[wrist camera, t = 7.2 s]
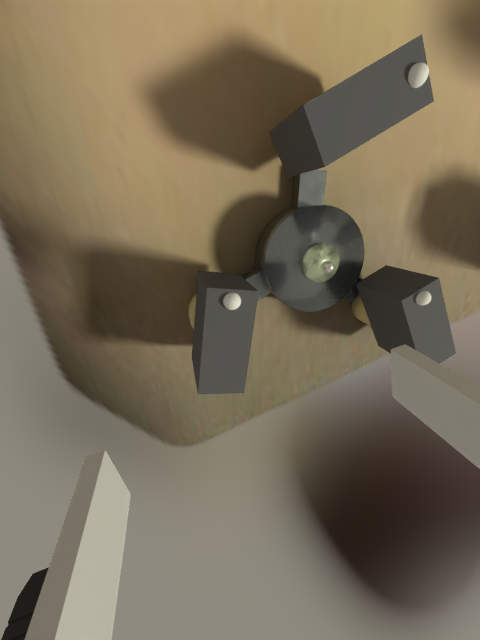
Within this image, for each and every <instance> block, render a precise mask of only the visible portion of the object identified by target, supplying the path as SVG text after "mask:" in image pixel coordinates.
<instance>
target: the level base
mask: <svg viewBox="0 0 480 640" xmlns="http://www.w3.org/2000/svg"><path fill="white" fill-rule="evenodd" d="M326 175H327V171H322V170H312V171H309V172H305V173H302V174H299V175H295V178H294V191H293V204H292V208H290V209H287V210H285V211H283V212H281V213H280V214H278V215H277V216H275V217H274V218H273V219H272V220H271V221H270V222H269V223H268V224H267V226H266V227H265V229H264V230H263V232H262V234H261V236H260V238H259V240H258V243H257V247H256V254H255V264H256V269H255V270H253V271H252V272H250V273H248V274H247V275H245V276H243V278H244V279H245V280H246V281H247V282H249V283H250V284H251V285H252V286H253V287H254V288H256V289H257V290H258V291H259V292H258V299H257V301H259V300H260V299H262V298H264V297H265V296H267V295H268V294H270V293H271V294H273V295H274V296H275V297H277V298H278V299H279V300H280V301H282V302H283V303H284V304H286V305H287V306H289V307H291V308H293V309H296V310H299V311H305V312H313V311H320V310H323V309H326V308H329V307H331V306H332V305H334V304H336V303H337V302H339V301H340V300H341V299H342V298H343V299H345V300H346V301H348V302H350V303H352V304H353V302H354V301H355V299H356V298H357V296H358V295H359V292H358V289H357V286H356V284H357V283H358V282H360V281H361V279H359V278H358V277H359V275H360V272H361V269H362V265H363V261H364V243H363V238H362V234H361V232H360V229H359V227H358V226H357V224H356V222H355V221H354V220H353V219H352V218H351V217H350V216H349V215H348V214H347V213H346V212H344V211H343V210H341V209H338V208H336V207H332V206H327V205H323V202H324V193H325V184H326Z"/></svg>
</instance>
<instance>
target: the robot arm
mask: <svg viewBox="0 0 480 640" xmlns="http://www.w3.org/2000/svg"><path fill="white" fill-rule="evenodd" d="M391 373H392V397H394V398H395V399H396V400H397V401H398V402H400V403H401V404H402V405H403V406H404V407H406V408H407V409H408V410H409V411H410V412H412V413H413V414H414V415H415V416H417V417H418V418H419V419H420V420H421V421H423V422H424V423H425V424H426V425H427V426H428V427H430V428H431V429H432V430H433V431H435V432H436V433H437V434H438V435H439V436H441V437H442V438H443V439H444V440H445V441H447V442H448V443H449V444H450V445H451V446H453V447H454V448H455V449H456V450H458V451H459V452H460V453H461V454H462V455H464V456H465V457H466V458H467V459H468V460H470V461H471V462H472V463H473V464H474V465H476V466H477V467H478V468H479V469H480V386H479V385H477V384H475V383H473V382H471V381H470V380H468V379H466V378H464V377H462V376H461V375H459V374H457V373H456V372H454V371H452V370H450V369H448V368H447V367H445V366H443V365H441V364H440V363H438V362H436V361H434V360H432V359H431V358H429V357H427V356H425V355H424V354H422V353H420V352H418V351H416V350H415V349H413V348H411V347H409V346H407V345H406V344H405V345H402V346H399V347H396V348H393V349H391ZM130 496H131V494H130V493H129V491H128V489H127V488H126V486H125V484H124V482H123V480H122V479H121V477H120V475H119V473H118V472H117V470H116V468H115V467H114V465H113V463H112V461H111V460H110V458H109V456H108V454H107V453H106V451H105V450H104V451H101V452H98V453H96V454H93V455H90V456H87V457H86V458H85V461H84V464H83V467H82V470H81V473H80V476H79V479H78V482H77V485H76V488H75V491H74V494H73V497H72V500H71V503H70V506H69V509H68V512H67V515H66V518H65V521H64V524H63V527H62V530H61V533H60V536H59V539H58V542H57V544H56V548H55V551H54V553H53V556H52V559H51V563H50V565H49V568H46V569H44V570H41V571H39V572H36V573H34V574H33V575H32V576H31V578H30V579H29V581H28V582H27V584H26V585H25V587H24V589H23V590H22V592H21V593H20V595H19V596H18V598H17V601H16V603H15V606H14V608H13V611H12V614H11V616H10V619H9V621H8V624H9V625H8V627H6V629H5V631H4V634H3V637H2V639H1V640H111V639H112V632H113V624H114V617H115V609H116V602H117V593H118V587H119V579H120V572H121V563H122V557H123V549H124V541H125V533H126V527H127V519H128V512H129V504H130Z"/></svg>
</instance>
